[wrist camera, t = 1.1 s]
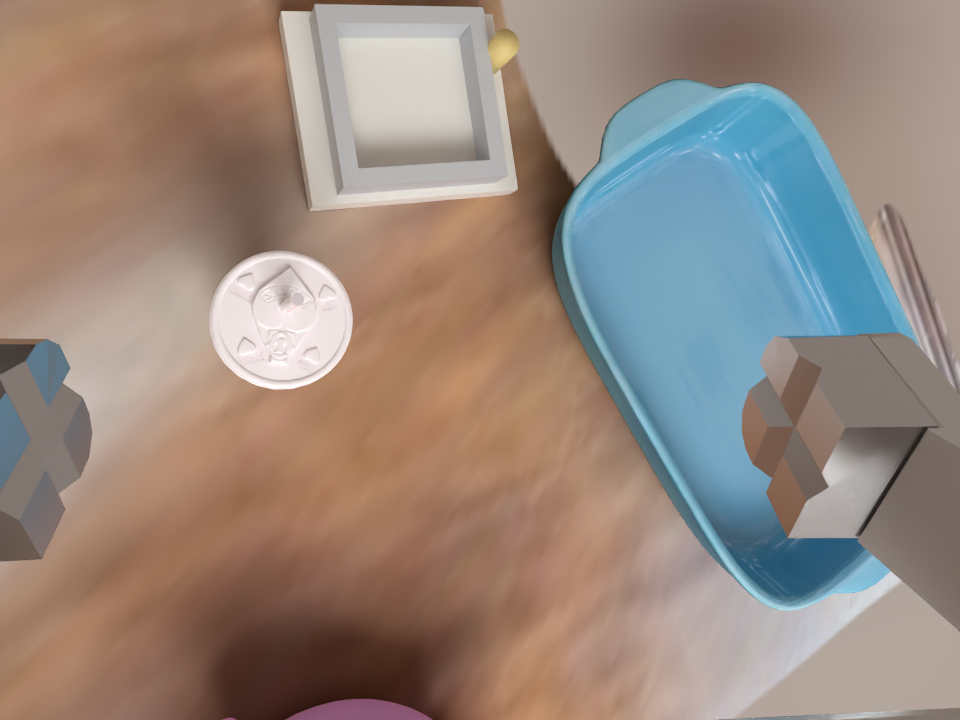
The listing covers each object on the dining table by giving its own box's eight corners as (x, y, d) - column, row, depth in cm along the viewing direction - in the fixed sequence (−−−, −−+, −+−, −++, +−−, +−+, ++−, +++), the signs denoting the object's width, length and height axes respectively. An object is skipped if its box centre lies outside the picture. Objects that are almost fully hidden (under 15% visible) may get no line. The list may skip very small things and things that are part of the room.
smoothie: (328, 282, 43) (383, 247, 30) (315, 390, 43) (365, 401, 30) (214, 265, 41) (220, 218, 28) (199, 378, 40) (199, 385, 27)
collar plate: (278, 22, 42) (286, -16, 38) (483, 24, 47) (511, -9, 42) (308, 211, 43) (320, 194, 38) (508, 194, 47) (538, 178, 43)
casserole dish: (463, 201, 46) (507, 174, 40) (702, 57, 53) (774, 14, 47) (717, 640, 54) (790, 680, 47) (899, 464, 60) (986, 476, 54)
